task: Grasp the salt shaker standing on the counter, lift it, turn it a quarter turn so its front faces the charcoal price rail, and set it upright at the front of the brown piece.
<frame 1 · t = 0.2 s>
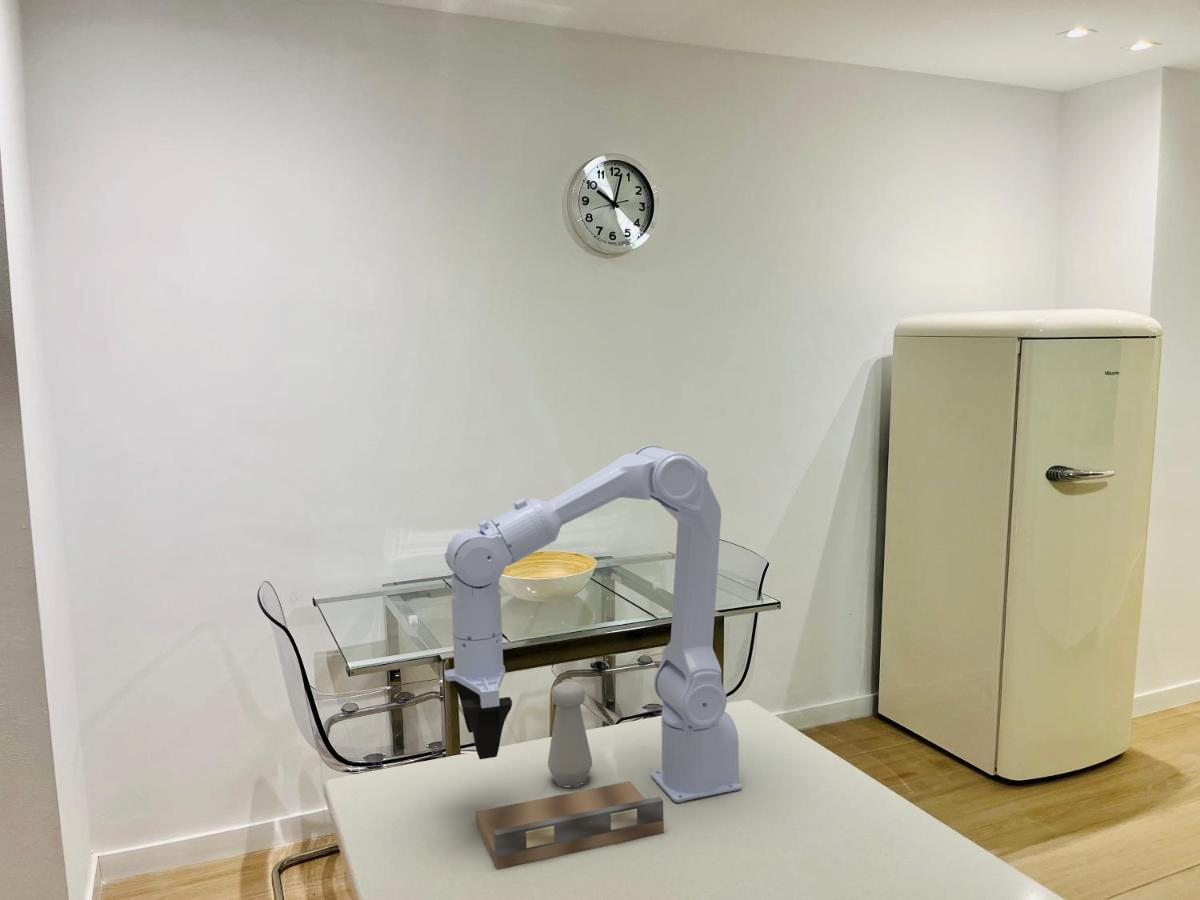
hand: (482, 743, 111), 10 cm above the table, tool pointing down, fingers open, 7 cm apart
salt shaker: (570, 781, 122), on the table
brown piece: (568, 828, 110), on the table
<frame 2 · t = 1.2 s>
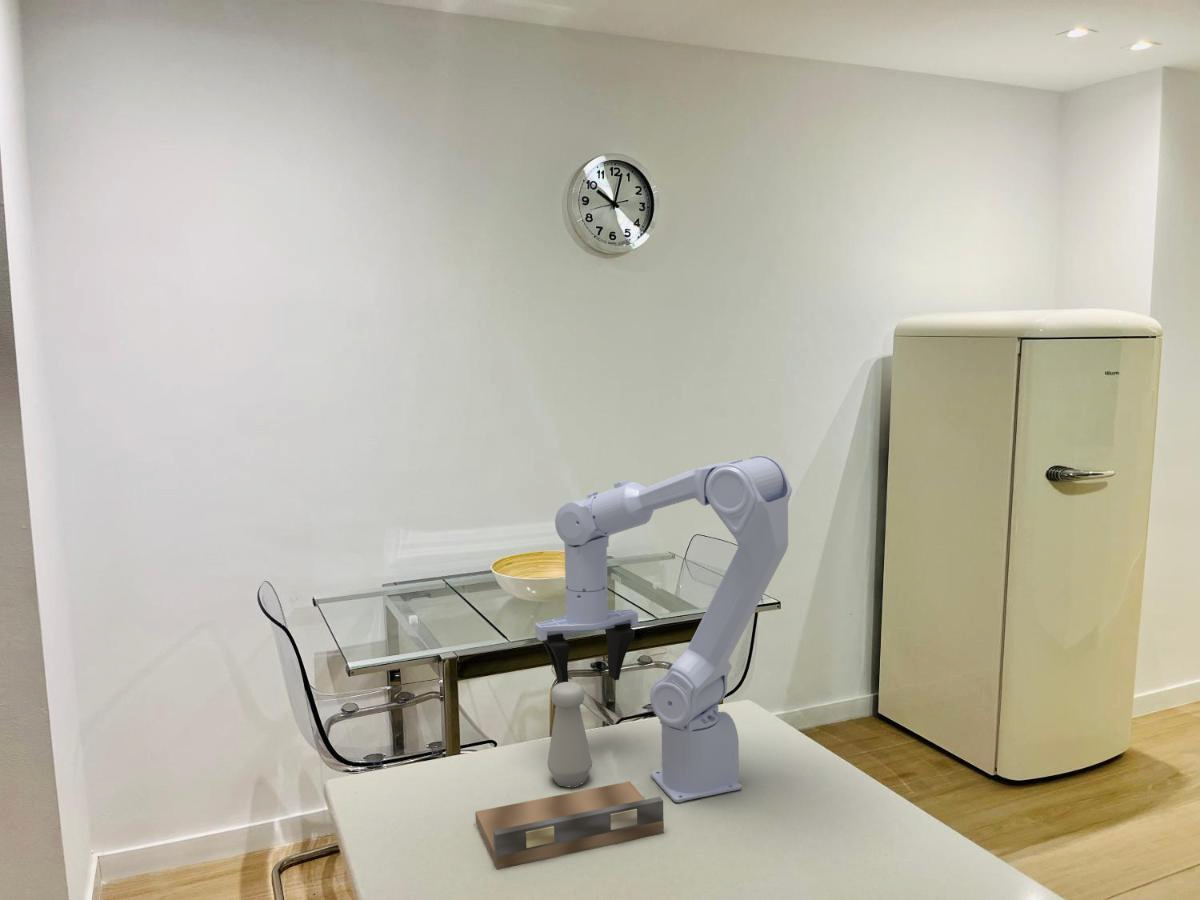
hand: (588, 682, 129), 10 cm above the table, tool pointing down, fingers open, 7 cm apart
nothing on the table moved.
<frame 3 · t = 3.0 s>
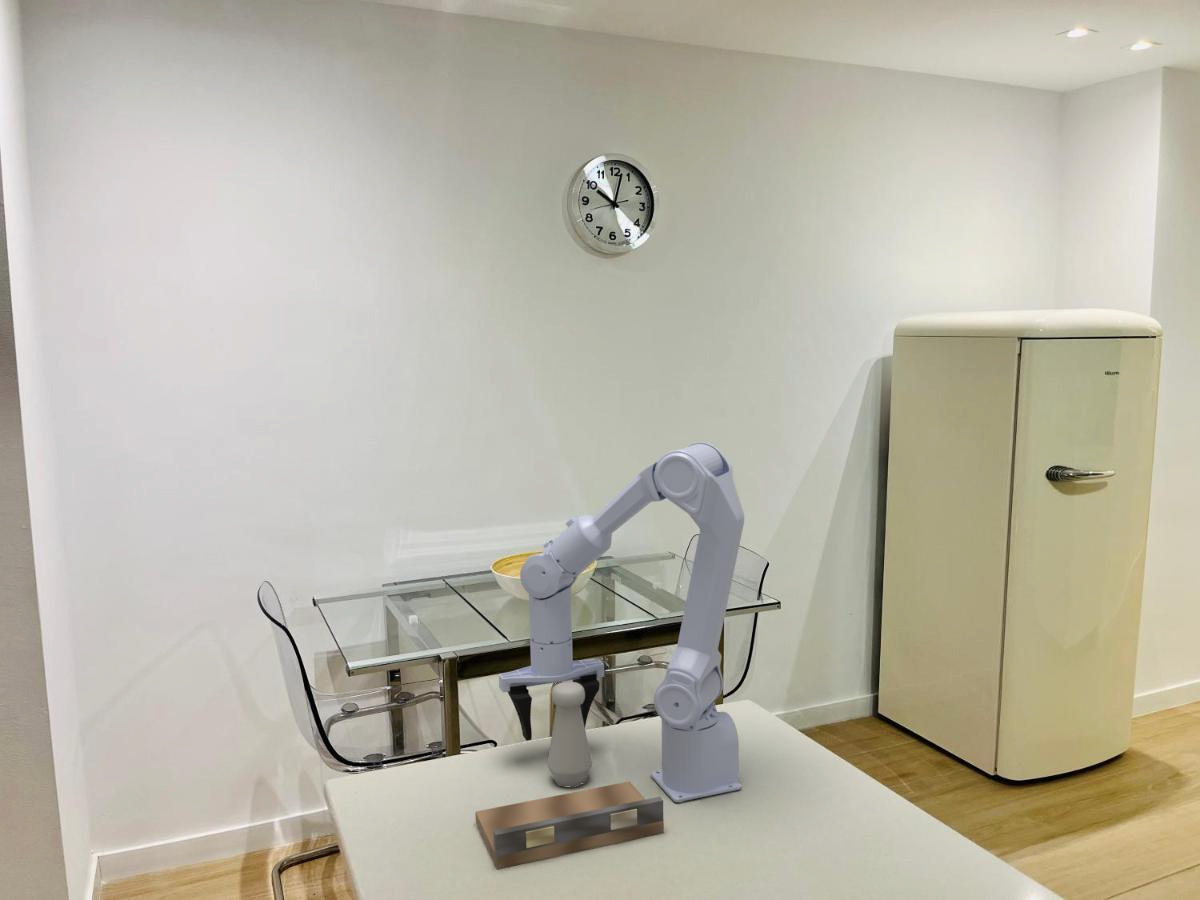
hand: (553, 733, 128), 4 cm above the table, tool pointing down, fingers open, 7 cm apart
nothing on the table moved.
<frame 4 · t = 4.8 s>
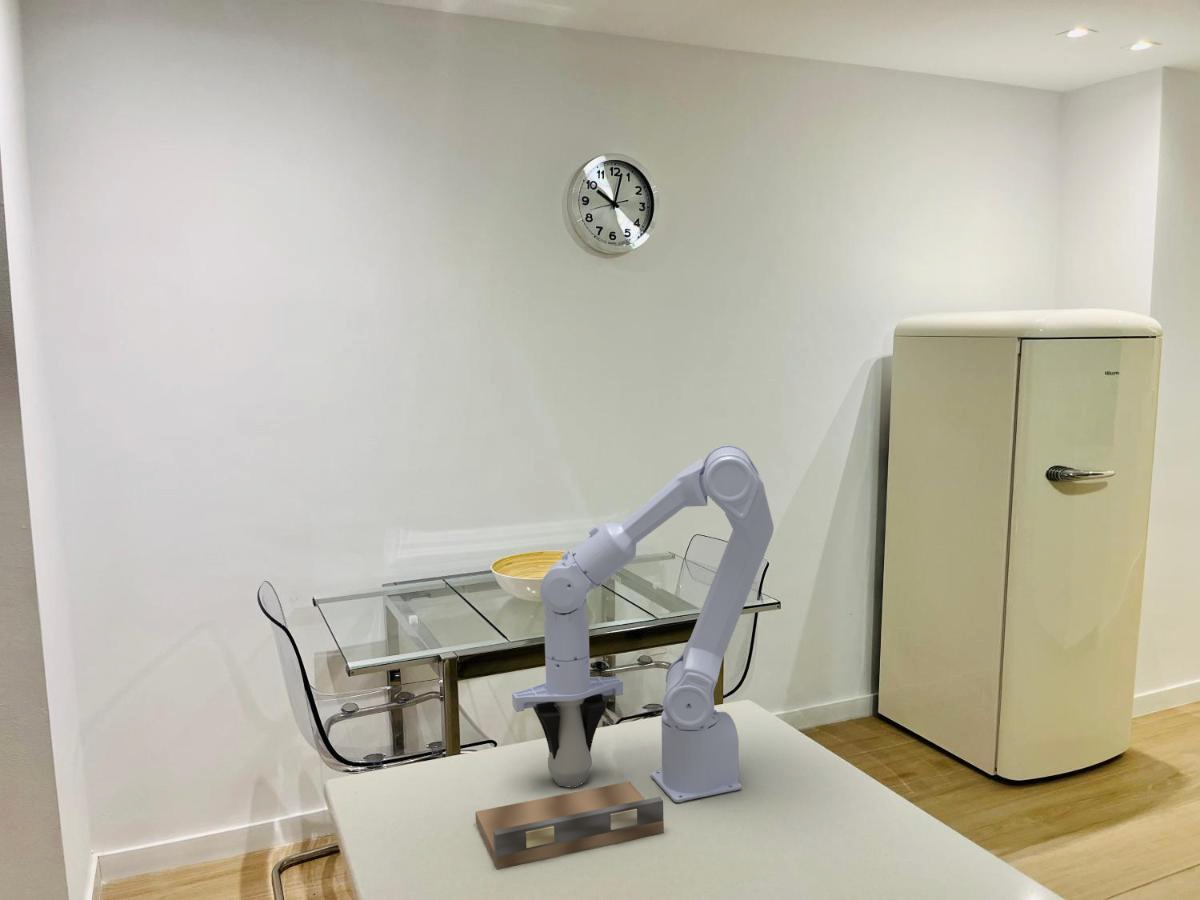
hand: (569, 754, 122), 4 cm above the table, tool pointing down, fingers closed on salt shaker, 4 cm apart
salt shaker: (570, 781, 122), on the table, touching gripper
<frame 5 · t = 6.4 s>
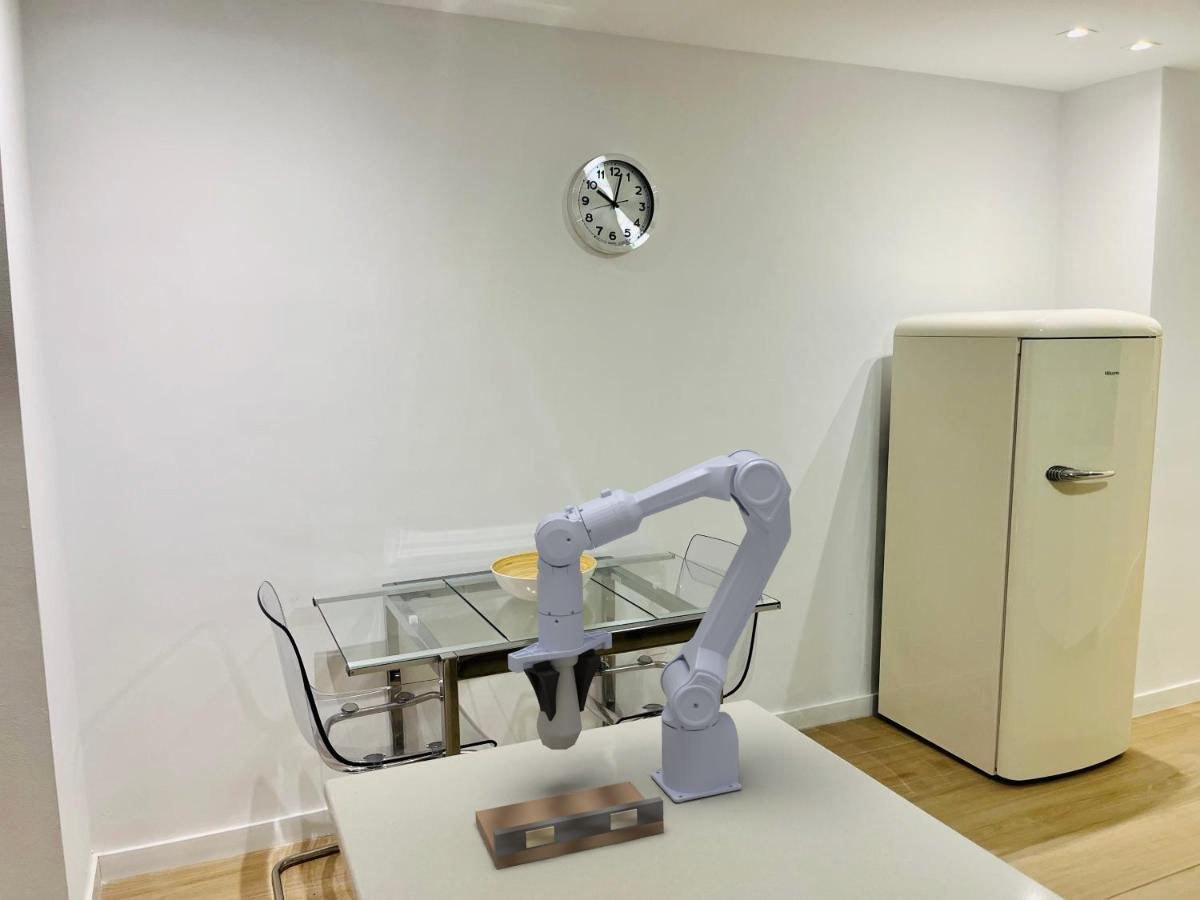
hand: (563, 713, 118), 10 cm above the table, tool pointing down, fingers closed on salt shaker, 4 cm apart
salt shaker: (558, 744, 119), point 6 cm above the table, touching gripper
when the fingers open (6 cm above the table, at t = 8.2 s): salt shaker stays where it is, resting on brown piece.
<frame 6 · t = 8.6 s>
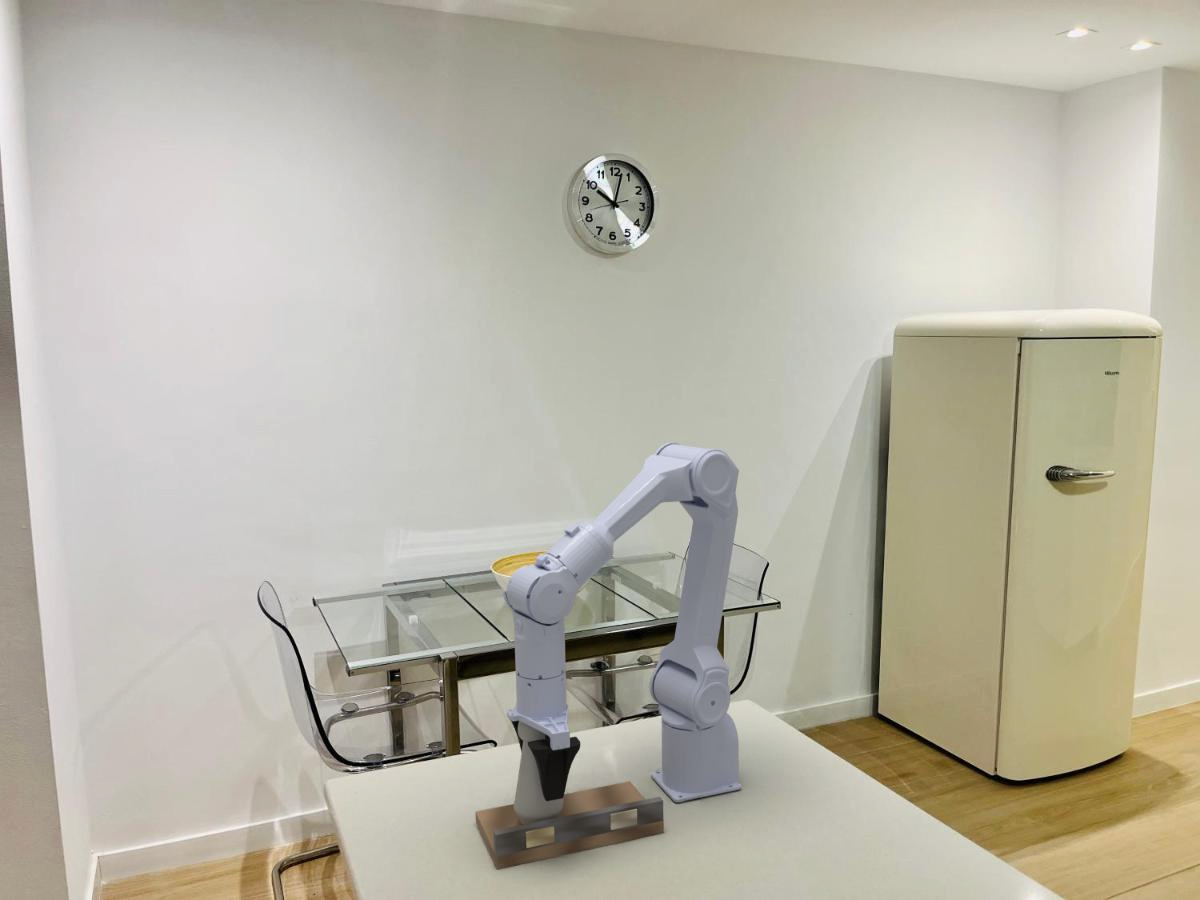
hand: (544, 783, 108), 6 cm above the table, tool pointing down, fingers open, 7 cm apart
salt shaker: (539, 824, 109), point 1 cm above the table, touching brown piece
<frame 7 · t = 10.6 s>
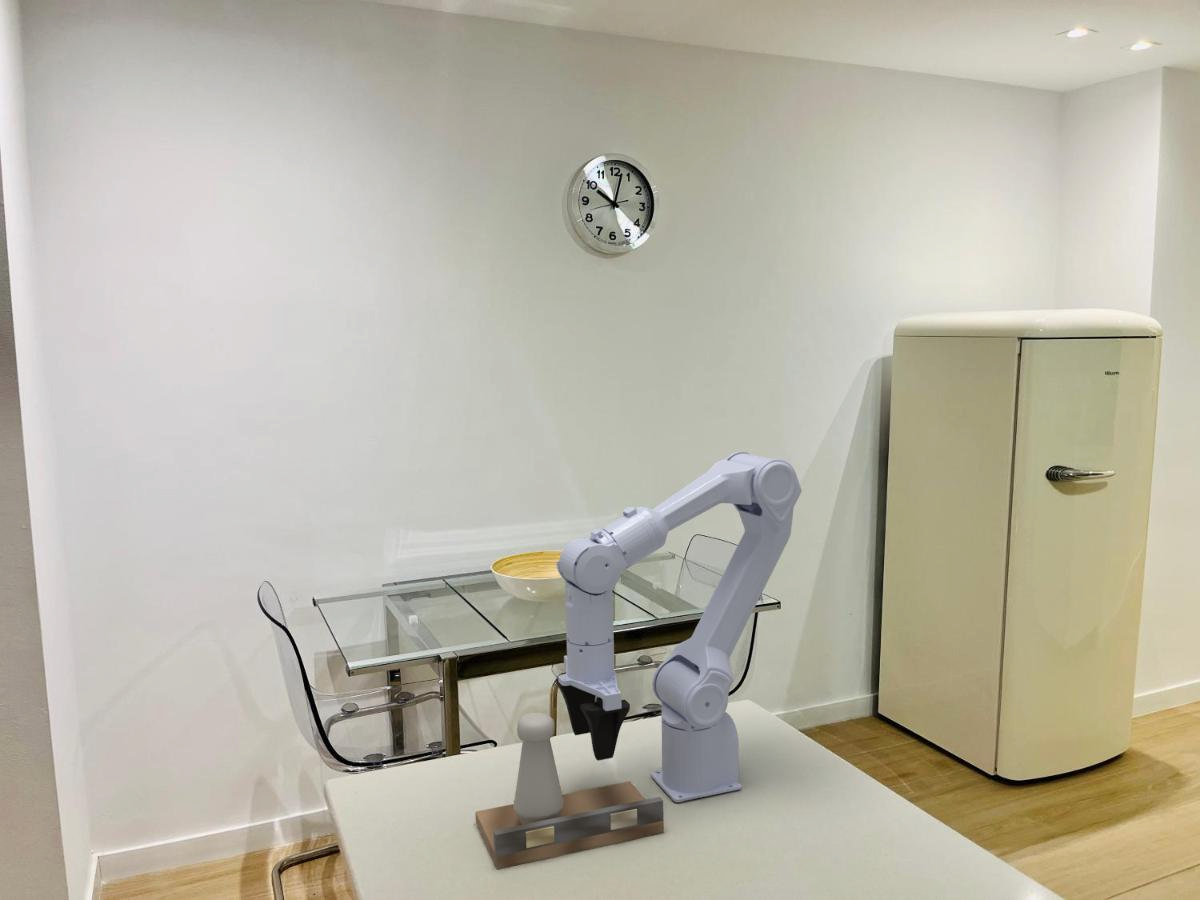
hand: (592, 745, 114), 8 cm above the table, tool pointing down, fingers open, 7 cm apart
nothing on the table moved.
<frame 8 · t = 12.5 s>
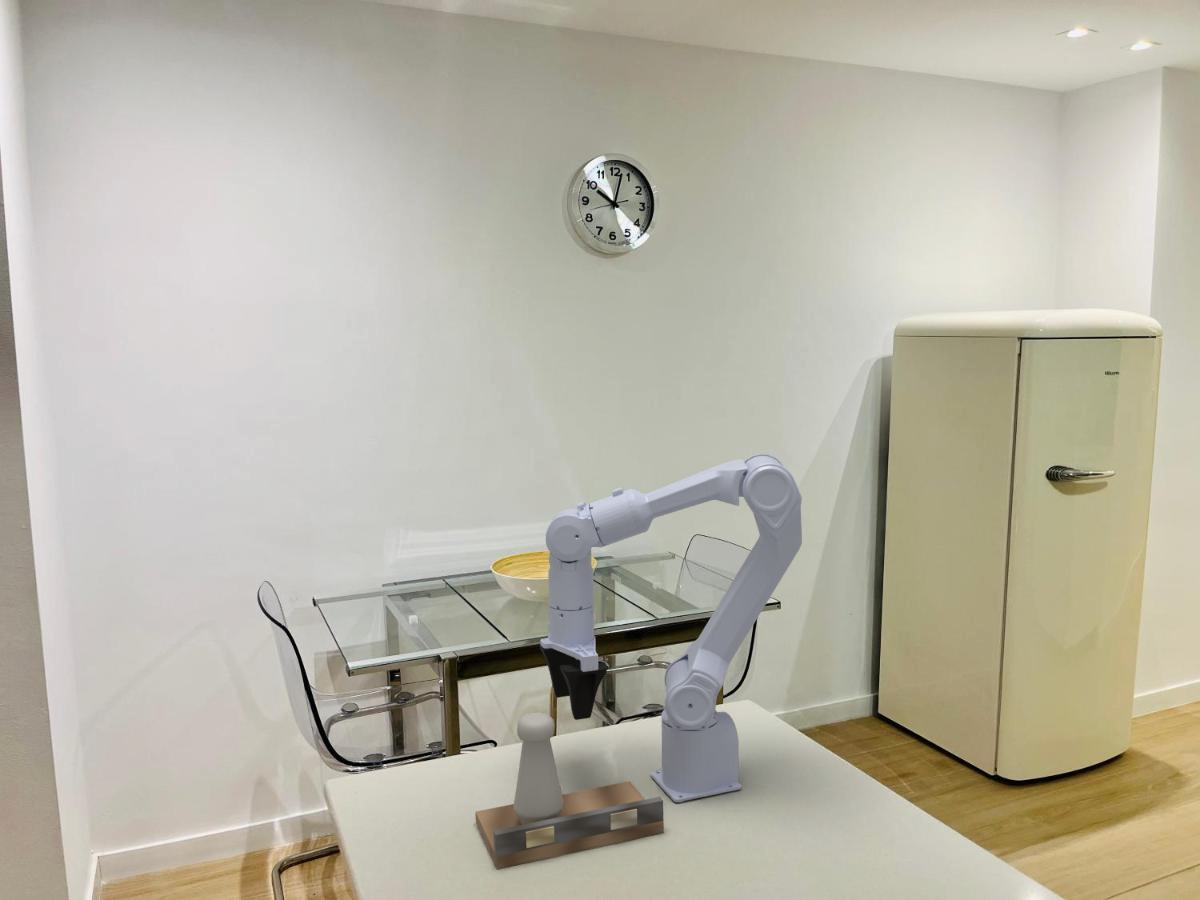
hand: (572, 706, 120), 10 cm above the table, tool pointing down, fingers open, 7 cm apart
nothing on the table moved.
at the end: salt shaker inside the target area on the brown piece (2.7 cm from its centre), point 1.3 cm above the brown piece's base; salt shaker tilted 0°; the gripper is holding nothing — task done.
